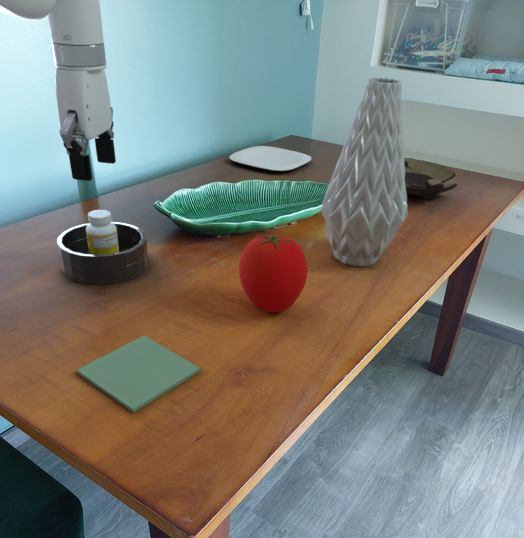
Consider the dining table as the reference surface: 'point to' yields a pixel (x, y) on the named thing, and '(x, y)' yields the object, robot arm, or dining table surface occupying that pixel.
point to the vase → (369, 179)
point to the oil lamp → (426, 178)
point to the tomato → (273, 272)
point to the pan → (103, 256)
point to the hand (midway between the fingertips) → (95, 170)
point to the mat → (138, 372)
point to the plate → (270, 158)
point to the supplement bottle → (101, 233)
